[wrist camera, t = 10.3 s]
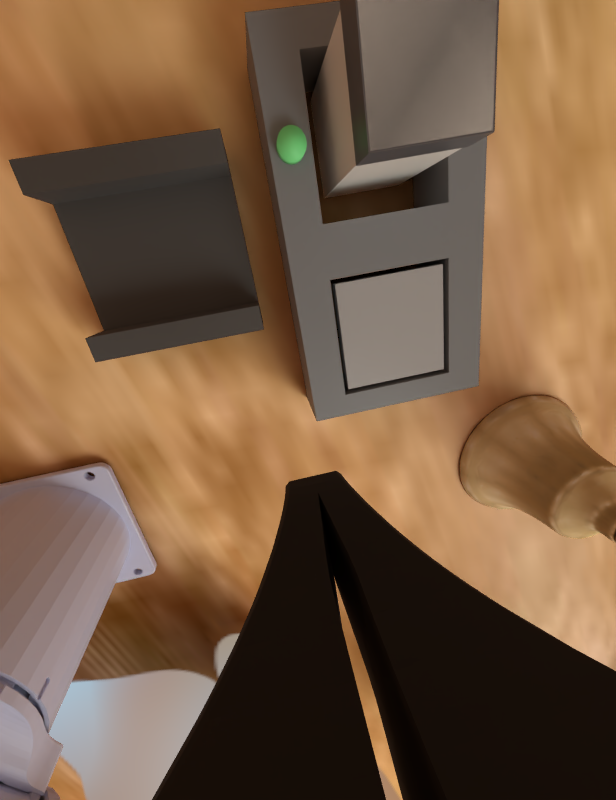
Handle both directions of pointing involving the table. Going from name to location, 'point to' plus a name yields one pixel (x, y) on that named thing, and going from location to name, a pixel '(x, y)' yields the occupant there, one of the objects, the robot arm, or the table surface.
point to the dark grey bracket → (152, 239)
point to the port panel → (366, 244)
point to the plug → (403, 89)
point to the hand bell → (541, 468)
